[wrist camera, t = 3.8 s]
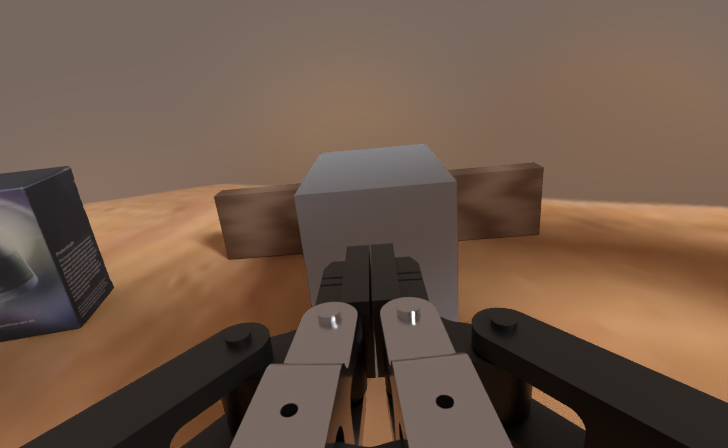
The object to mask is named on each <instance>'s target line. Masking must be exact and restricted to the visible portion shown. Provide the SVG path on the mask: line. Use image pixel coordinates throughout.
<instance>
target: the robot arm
mask: <svg viewBox="0 0 728 448" xmlns="http://www.w3.org/2000/svg"><path fill="white" fill-rule="evenodd" d="M375 345H376V357H377V369H378V377H385V383H386V396H387V406H388V412H389V419H390V425H391V432H392V438H393V441H392V442H389V443H385V444H382V445H378V446H374V447H363V446H362V441H363V431H364V421H365V411H366V394H365V393H366V390H367V378H376V371H375ZM532 386H534V387H535V388H537V389H539V390H541V391H542V392H544V393H546V394H547V395H549V396H551V397H553V398H554V399H556V400H558V401H559V402H561V403H563V404H565V405H566V406H568V407H570V408H571V409H572V410H573V411H575V412H576V413H577V414H578V416H579V417H580V418H581V420H582V421H583V423H584V425H585V429H586V431H585V430H584V429H582V428H580V427H579V426H577V425H575V424H574V423H572V422H570V421H569V420H567V419H565V418H564V417H562V416H560V415H559V414H557V413H555V412H554V411H552V410H551V409H549V408H547V407H546V406H544V405H542V404H541V403H539V402H537V401H536V400H534V399H532V398H531V396H532ZM220 399H221V400H222V404H223V407H224V411H225V414H224V415H223V416H222V417H221V418H219V419H218V420H217V421H215V422H214V423H213V424H211V425H210V426H209V427H207V428H206V429H205V430H203V431H202V432H201V433H199V434H198V435H197V436H195V437H194V438H193V439H191V440H190V441H189V442H187V443H186V444H185V445H183V446H182V447H181V448H728V403H727V402H724V401H722V400H720V399H718V398H715V397H713V396H711V395H708V394H706V393H704V392H702V391H699V390H697V389H695V388H692V387H690V386H688V385H686V384H683V383H681V382H679V381H676V380H674V379H672V378H670V377H667V376H665V375H663V374H660V373H658V372H656V371H654V370H651V369H649V368H647V367H644V366H642V365H640V364H638V363H635V362H633V361H631V360H628V359H626V358H624V357H622V356H619V355H617V354H615V353H612V352H610V351H608V350H606V349H603V348H601V347H599V346H596V345H594V344H592V343H590V342H587V341H585V340H583V339H580V338H578V337H576V336H574V335H571V334H569V333H567V332H564V331H562V330H560V329H558V328H555V327H553V326H551V325H548V324H546V323H544V322H542V321H539V320H537V319H535V318H532V317H530V316H528V315H526V314H523V313H521V312H518V311H516V310H512V309H507V308H489V309H485V310H482V311H480V312H478V313H477V314H475V315H474V317H473V319H472V324H468V323H460V322H455V321H451V320H448V319H445V318H443V317H441V316H439V314H438V312H437V309H436V308H435V306H434V305H433V304H432V303H430V302H429V299H428V295H427V292H426V288H425V284H424V281H423V277H422V274H421V270H420V266H419V263H418V262H417V261H415V260H414V259H413V258H411V257H410V256H409V257H395V254H394V248H393V243H387V244H372V245H371V260H370V249H369V245H359V246H347V250H346V258H345V261H337V262H331V263H330V264H329V265H328V266H327V267H326V268H325V269H324V270H323V275H322V280H321V283H320V287H319V292H318V296H317V300H316V304H315V306H314V307H312V308H311V309H309V310H308V311H307V312H306V313H305V314H304V315H303V317H302V319H301V322H300V324H299V326H298V329H296V330H294V331H291V332H288V333H285V334H281V335H277V336H273V337H270V334H269V330H268V329H267V328H266V327H265V326H264V325H262V324H259V323H241V324H237V325H234V326H231V327H228V328H226V329H224V330H222V331H220V332H219V333H217V334H215V335H214V336H212V337H210V338H208V339H207V340H205V341H203V342H201V343H200V344H198V345H196V346H194V347H193V348H191V349H189V350H188V351H186V352H184V353H182V354H181V355H179V356H177V357H175V358H174V359H172V360H170V361H169V362H167V363H165V364H163V365H162V366H160V367H158V368H156V369H155V370H153V371H151V372H149V373H148V374H146V375H144V376H143V377H141V378H139V379H137V380H136V381H134V382H132V383H130V384H129V385H127V386H125V387H124V388H122V389H120V390H118V391H117V392H115V393H113V394H111V395H110V396H108V397H106V398H105V399H103V400H101V401H99V402H98V403H96V404H94V405H92V406H91V407H89V408H87V409H85V410H84V411H82V412H80V413H79V414H77V415H75V416H73V417H72V418H70V419H68V420H66V421H65V422H63V423H61V424H60V425H58V426H56V427H54V428H53V429H51V430H49V431H47V432H46V433H44V434H42V435H40V436H39V437H37V438H35V439H34V440H32V441H30V442H28V443H27V444H25V445H23V446H21V447H20V448H169V447H170V443H171V440H172V438H173V437H174V435H175V434H176V432H177V431H178V430H179V429H180V428H181V427H182V426H184V425H185V424H186V423H188V422H189V421H191V420H192V419H193V418H195V417H196V416H197V415H199V414H200V413H202V412H203V411H204V410H206V409H207V408H209V407H210V406H211V405H213V404H214V403H216V402H217V401H218V400H220Z"/></svg>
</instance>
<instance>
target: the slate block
mask: <svg viewBox="0 0 728 448" xmlns="http://www.w3.org/2000/svg"><path fill="white" fill-rule="evenodd" d="M294 199H295V205H296V211H297V217H298V223H299V229H300V235H301V242H302V248H303V254H304V260H305V266H306V272H307V278H308V284H309V291H310V297H311V303H312V307H314V306H315V304H316V300H317V296H318V292H319V287H320V283H321V280H322V275H323V270H324V269H325V268H326V267H327V266H328V265H329V264H330V263H331V262H337V261H345V258H346V250H347V246H359V245H369V249H370V260H371V245H372V244H387V243H393V248H394V254H395V257H409V256H410V257H411V258H413V259H414V260H415V261H417V262H418V263H419V266H420V270H421V274H422V277H423V281H424V284H425V288H426V292H427V295H428V299H429V302H430V303H432V304H433V305H434V306H435V308H436V309H437V312H438V314H439V316H441V317H443V318H445V319H448V320H451V321H455V322H458V240H457V181H456V180H455V178H454V177H453V176H452V175H451V174H450V173H449V171H448V170H447V169H446V168H445V167H444V166H443V164H442V163H441V162H440V161H439V160H438V158H437V157H436V156H435V155H434V154H433V153H432V151H431V150H430V149H429V148H428V147H427V146H426V144H416V145H405V146H395V147H384V148H373V149H363V150H351V151H340V152H330V153H321V154H320V155H319V157H318V158H317V160H316V161H315V163H314V164H313V166H312V168H311V169H310V171H309V172H308V174H307V176H306V177H305V179H304V180H303V182H302V184H301V185H300V187H299V188H298V190H297V192H296V193H295V195H294ZM375 371H376V375H378V369H377V357H376V345H375Z"/></svg>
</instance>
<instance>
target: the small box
mask: <svg viewBox="0 0 728 448" xmlns="http://www.w3.org/2000/svg"><path fill="white" fill-rule="evenodd" d="M113 288H114V286H113V284H112V282H111V280H110V278H109V275H108V272H107V270H106V267H105V265H104V261H103V258H102V256H101V253H100V251H99V248H98V245H97V242H96V240H95V237H94V234H93V231H92V229H91V226H90V223H89V220H88V217H87V215H86V212H85V210H84V208H83V204H82V202H81V199H80V196H79V194H78V189H77V187H76V184H75V182H74V177H73V173H72V170H71V168H70V167H69V166H64V167H55V168H47V169H38V170H30V171H22V172H13V173H4V174H0V342H1V341H6V340H12V339H19V338H24V337H30V336H36V335H41V334H47V333H53V332H59V331H65V330H71V329H78V328H81V327H82V326H83V325H84V324H85V322H86V321H87V320H88V319H89V318H90V316H91V315H92V314H93V313H94V311H95V310H96V309H97V308H98V307H99V305H100V304H101V303H102V302H103V300H104V299H105V298H106V297H107V295H108V294H109V293H110V292H111V291H112V289H113Z"/></svg>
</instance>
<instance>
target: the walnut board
mask: <svg viewBox="0 0 728 448" xmlns="http://www.w3.org/2000/svg"><path fill="white" fill-rule="evenodd" d="M543 170H544V169H543V167H542V166H540V165H538V164H536V163H525V164H513V165H501V166H491V167H479V168H468V169H456V170H448V171H449V173H450V174H451V175H452V176H453V177H454V178H455V180H456V181H457V240H458V241H461V240H473V239H485V238H497V237H510V236H522V235H534V234H539V227H540V213H541V199H542V184H543ZM301 184H302V183H300V184H289V185H277V186H266V187H255V188H244V189H232V190H222V191H221V192H219V193H218V194H217V195H216V196H214V199H215V203H216V208H217V212H218V216H219V220H220V224H221V229H222V233H223V237H224V241H225V245H226V250H227V254H228V258H229V259H240V258H252V257H265V256H277V255H289V254H301V253H303V248H302V242H301V235H300V229H299V223H298V217H297V211H296V205H295V199H294V195H295V193H296V192H297V190H298V188H299V187H300V185H301Z"/></svg>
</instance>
